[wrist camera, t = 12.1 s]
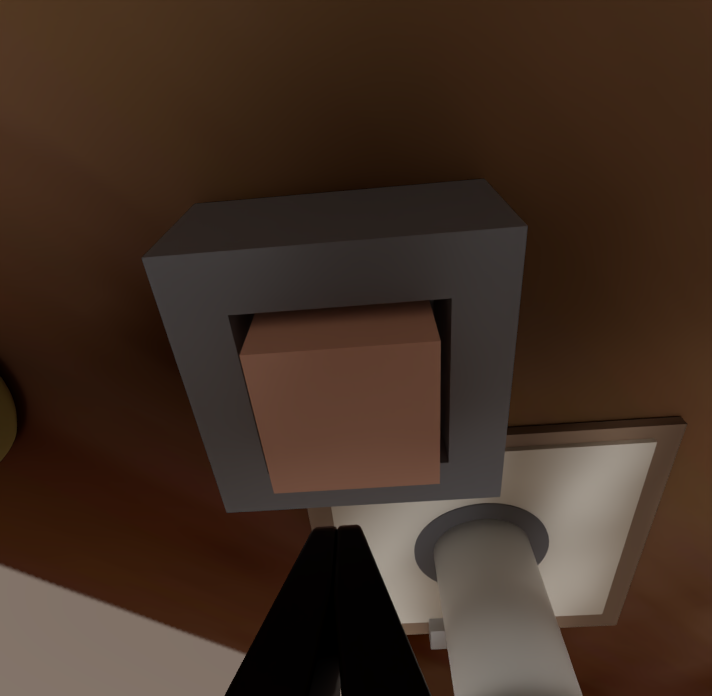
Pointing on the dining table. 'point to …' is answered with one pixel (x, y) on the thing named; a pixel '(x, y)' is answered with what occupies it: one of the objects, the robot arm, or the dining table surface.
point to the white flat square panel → (537, 519)
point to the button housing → (339, 289)
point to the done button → (346, 395)
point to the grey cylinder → (499, 614)
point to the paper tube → (6, 420)
